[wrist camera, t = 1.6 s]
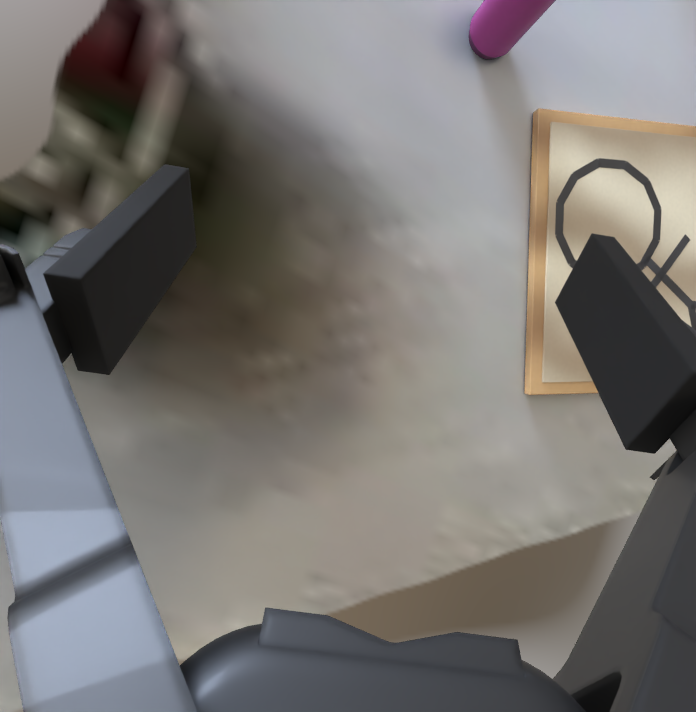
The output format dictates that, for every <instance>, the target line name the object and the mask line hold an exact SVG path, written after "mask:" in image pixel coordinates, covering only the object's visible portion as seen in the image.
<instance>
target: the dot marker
mask: <svg viewBox="0 0 696 712" xmlns="http://www.w3.org/2000/svg"><path fill="white" fill-rule="evenodd" d="M554 1H555V0H484V1H483V3H482V4H481V6H480V7H479V8H478V10H477V11H476V13H475V14H474V16H473V18H472V20H471V24H470V31H469V42H470V45H471V48H472V49H473V51H474V52H475V53H476V54H477V55H478V56H479V57H481V58H484V59H494V58H496V57H500V56H503V55H505V54H506V53H507V52H508V51H509V50H510V49H511V48H512V47H513V46H514V45H515V44H516V43H517V42H518V41H519V39H520V38H521V37H522V36H523V35H524V34H525V33H526V32H527V31H528V30H529V29H530V28H531V26H532V25H533V24H534V23H535V22H536V21H537V20H538V19H539V18H540V17H541V16H542V15H543V13H544V12H545V11H546V10H547V9H548V8H549V7H550V6H551V5H552V4H553V3H554Z"/></svg>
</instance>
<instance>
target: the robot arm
mask: <svg viewBox="0 0 696 712" xmlns="http://www.w3.org/2000/svg"><path fill="white" fill-rule="evenodd" d="M196 247H197V246H196V236H195V226H194V215H193V205H192V195H191V185H190V174H189V168H184V167H178V166H171V165H165V164H164V165H163V166H162V167H161V168H160V169H159V170H158V171H157V172H156V173H154V174H153V175H152V176H151V177H150V178H149V179H148V180H147V181H146V182H144V183H143V184H142V185H141V186H140V187H139V188H138V189H137V190H135V191H134V192H133V193H132V194H131V195H130V196H129V197H128V198H127V199H125V200H124V201H123V202H122V203H121V204H120V205H119V206H118V207H117V208H115V209H114V210H113V211H112V212H111V213H110V214H109V215H108V216H106V217H105V218H104V219H103V220H102V221H101V222H100V223H99V224H98V225H96V226H95V227H94V228H93V229H86V228H82V229H79V230H77V231H75V232H72V233H70V234H67V235H65V236H64V237H63V238H61V239H60V240H59V241H58V242H57V243H55V244H54V245H53V248H49V249H48V250H47V251H46V252H45V253H43V254H44V255H43V256H40V257H39V258H38V259H36V260H35V261H34V262H33V263H32V264H30V265H29V266H28V267H27V268H26V269H25V268H24V266H23V263H22V261H21V258H20V256H19V253H18V252H17V251H16V250H15V249H14V248H12V247H9V246H6V245H2V244H0V520H1V525H2V530H3V535H4V540H5V545H6V550H7V554H8V559H9V564H10V569H11V574H12V579H13V584H14V590H15V602H14V603H13V604H11V605H10V606H9V609H8V627H9V635H10V641H11V646H12V651H13V657H14V662H15V668H16V673H17V679H18V684H19V690H20V695H21V700H22V706H23V711H24V712H696V330H695V329H694V328H692V327H691V326H690V325H688V324H687V323H686V322H684V321H683V320H682V319H681V318H680V317H679V316H678V315H677V313H676V312H675V311H674V310H673V308H672V307H671V306H670V305H669V304H668V302H667V301H666V300H665V299H664V297H663V296H662V295H661V294H660V292H659V291H658V290H657V289H656V288H655V286H654V285H653V284H652V283H651V281H650V280H649V279H648V278H647V276H646V275H645V274H644V273H643V272H642V270H641V269H640V268H639V267H638V265H637V264H636V263H635V262H634V261H633V259H632V258H631V257H630V256H629V254H628V253H627V252H626V251H625V249H624V248H623V247H622V246H621V245H620V243H619V242H618V241H617V240H616V238H615V237H611V236H605V235H599V234H593V233H591V235H590V237H589V239H588V241H587V243H586V245H585V247H584V249H583V250H582V252H581V254H580V256H579V258H578V260H577V262H576V264H575V265H574V267H573V269H572V271H571V273H570V275H569V277H568V279H567V280H566V282H565V284H564V286H563V288H562V290H561V292H560V294H559V296H558V297H557V299H556V301H555V304H556V306H557V308H558V310H559V312H560V314H561V316H562V318H563V320H564V323H565V325H566V327H567V329H568V331H569V333H570V335H571V337H572V339H573V341H574V343H575V345H576V347H577V349H578V352H579V354H580V356H581V358H582V360H583V362H584V364H585V366H586V368H587V370H588V372H589V374H590V376H591V378H592V381H593V383H594V385H595V387H596V389H597V391H598V393H599V395H600V397H601V399H602V401H603V403H604V405H605V407H606V410H607V412H608V414H609V416H610V418H611V420H612V422H613V424H614V426H615V428H616V430H617V432H618V434H619V436H620V439H621V441H622V443H623V445H624V447H625V449H626V450H633V451H640V452H647V453H654V454H655V453H656V452H657V451H658V450H659V449H660V448H661V447H662V446H663V444H664V443H665V442H666V441H667V440H668V439H669V438H670V439H671V441H672V443H673V444H674V446H675V448H676V450H677V451H676V452H675V453H674V454H673V455H672V456H671V457H670V458H669V459H668V460H667V461H666V462H665V463H664V464H663V465H662V466H661V467H660V468H659V469H658V470H657V471H656V472H655V473H654V474H653V475H652V476H651V477H650V478H652V479H653V480H655V479H656V478H658V477H659V478H658V480H657V482H656V484H655V486H654V488H653V490H652V492H651V494H650V496H649V498H648V500H647V502H646V504H645V506H644V508H643V510H642V512H641V514H640V516H639V518H638V520H637V522H636V524H635V526H634V528H633V530H632V532H631V534H630V536H629V538H628V540H627V542H626V544H625V546H624V548H623V550H622V552H621V554H620V556H619V558H618V560H617V562H616V564H615V566H614V568H613V570H612V572H611V574H610V576H609V578H608V580H607V582H606V584H605V586H604V588H603V590H602V592H601V594H600V596H599V598H598V600H597V602H596V604H595V606H594V608H593V610H592V612H591V614H590V616H589V618H588V620H587V622H586V624H585V626H584V628H583V630H582V632H581V634H580V636H579V638H578V640H577V642H576V644H575V646H574V648H573V650H572V652H571V654H570V656H569V658H568V660H567V661H566V663H565V665H564V666H563V667H562V669H561V670H560V671H559V672H558V673H557V675H556V676H555V677H554V678H553V679H551V678H550V677H549V676H547V675H546V674H545V673H543V672H542V671H541V670H539V669H537V668H535V667H534V666H532V665H530V664H529V663H527V662H525V661H523V660H521V656H520V650H519V645H518V640H514V639H507V638H499V637H491V636H483V635H476V634H468V633H460V632H454V633H449V634H444V635H438V636H432V637H427V638H421V639H416V640H410V641H405V642H399V643H391V642H388V641H385V640H383V639H380V638H378V637H376V636H374V635H371V634H369V633H367V632H365V631H362V630H360V629H358V628H355V627H353V626H351V625H348V624H346V623H344V622H342V621H339V620H337V619H335V618H332V617H330V616H327V615H319V614H312V613H304V612H296V611H288V610H280V609H273V608H265V612H264V617H263V622H262V624H258V625H252V626H247V627H244V628H241V629H238V630H235V631H232V632H230V633H228V634H225V635H223V636H221V637H219V638H217V639H215V640H214V641H212V642H210V643H209V644H207V645H205V646H204V647H202V648H201V649H199V650H198V651H197V652H196V653H194V654H193V655H192V656H191V657H189V658H188V659H187V660H185V661H184V662H183V663H182V664H181V665H180V666H179V663H178V661H177V658H176V655H175V653H174V650H173V648H172V645H171V643H170V640H169V638H168V635H167V632H166V630H165V627H164V625H163V622H162V620H161V617H160V614H159V612H158V609H157V607H156V604H155V602H154V599H153V597H152V594H151V591H150V589H149V586H148V584H147V581H146V579H145V576H144V573H143V571H142V568H141V566H140V563H139V561H138V558H137V555H136V553H135V550H134V548H133V545H132V543H131V540H130V538H129V535H128V532H127V530H126V527H125V525H124V522H123V520H122V517H121V514H120V512H119V509H118V507H117V504H116V502H115V499H114V497H113V494H112V491H111V489H110V486H109V484H108V481H107V479H106V476H105V473H104V471H103V468H102V466H101V463H100V461H99V458H98V455H97V453H96V450H95V448H94V445H93V443H92V440H91V438H90V435H89V432H88V430H87V427H86V425H85V422H84V420H83V417H82V414H81V412H80V409H79V407H78V404H77V402H76V399H75V396H74V394H73V391H72V389H71V386H70V384H69V381H68V379H67V376H66V373H65V371H64V368H63V366H62V363H63V362H64V361H65V360H66V359H67V357H68V356H69V355H70V354H71V353H72V355H73V358H74V361H75V364H76V367H77V369H78V370H79V371H86V372H93V373H99V374H106V375H110V373H111V372H112V370H113V369H114V367H115V366H116V364H117V363H118V362H119V360H120V359H121V357H122V356H123V354H124V353H125V351H126V350H127V348H128V347H129V345H130V344H131V342H132V341H133V339H134V338H135V337H136V335H137V334H138V332H139V331H140V329H141V328H142V326H143V325H144V323H145V322H146V320H147V319H148V317H149V316H150V314H151V313H152V312H153V310H154V309H155V307H156V306H157V304H158V303H159V301H160V300H161V298H162V297H163V295H164V294H165V292H166V291H167V290H168V288H169V287H170V285H171V284H172V282H173V281H174V279H175V278H176V276H177V275H178V273H179V272H180V270H181V269H182V267H183V266H184V265H185V263H186V262H187V260H188V259H189V257H190V256H191V254H192V253H193V251H194V250H195V248H196Z"/></svg>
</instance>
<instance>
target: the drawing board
mask: <svg viewBox="0 0 696 712" xmlns="http://www.w3.org/2000/svg"><path fill="white" fill-rule="evenodd" d="M591 233H593V234H599V235H605V236H611V237H615V238H616V240H617V241H618V242H619V243H620V245H621V246H622V247H623V248H624V249H625V251H626V252H627V253H628V254H629V256H630V257H631V258H632V259H633V261H634V262H635V263H636V264H637V265H638V267H639V268H640V269H641V270H642V272H643V273H644V274H645V275H646V276H647V278H648V279H649V280H650V281H651V283H652V284H653V285H654V286H655V288H656V289H657V290H658V291H659V292H660V294H661V295H662V296H663V297H664V299H665V300H666V301H667V302H668V304H669V305H670V306H671V307H672V308H673V310H674V311H675V312H676V313H677V315H678V316H679V317H680V318H681V319H682V320H683V321H684V322H686V323H687V324H688V325H690V326H691V327H692V328H694V329H695V330H696V126H688V125H679V124H670V123H662V122H653V121H644V120H635V119H627V118H618V117H609V116H600V115H592V114H583V113H574V112H565V111H557V110H548V109H538V110H536V111H535V112H534V113H533V131H532V163H531V196H530V229H529V262H528V294H527V327H526V360H525V392H524V393H525V394H529V395H544V394H580V393H598V391H597V389H596V387H595V385H594V383H593V381H592V378H591V376H590V374H589V372H588V370H587V368H586V366H585V364H584V362H583V360H582V358H581V356H580V354H579V352H578V349H577V347H576V345H575V343H574V341H573V339H572V337H571V335H570V333H569V331H568V329H567V327H566V325H565V323H564V320H563V318H562V316H561V314H560V312H559V310H558V308H557V306H556V304H555V301H556V299H557V297H558V296H559V294H560V292H561V290H562V288H563V286H564V284H565V282H566V280H567V279H568V277H569V275H570V273H571V271H572V269H573V267H574V265H575V264H576V262H577V260H578V258H579V256H580V254H581V252H582V250H583V249H584V247H585V245H586V243H587V241H588V239H589V237H590V235H591Z"/></svg>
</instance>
